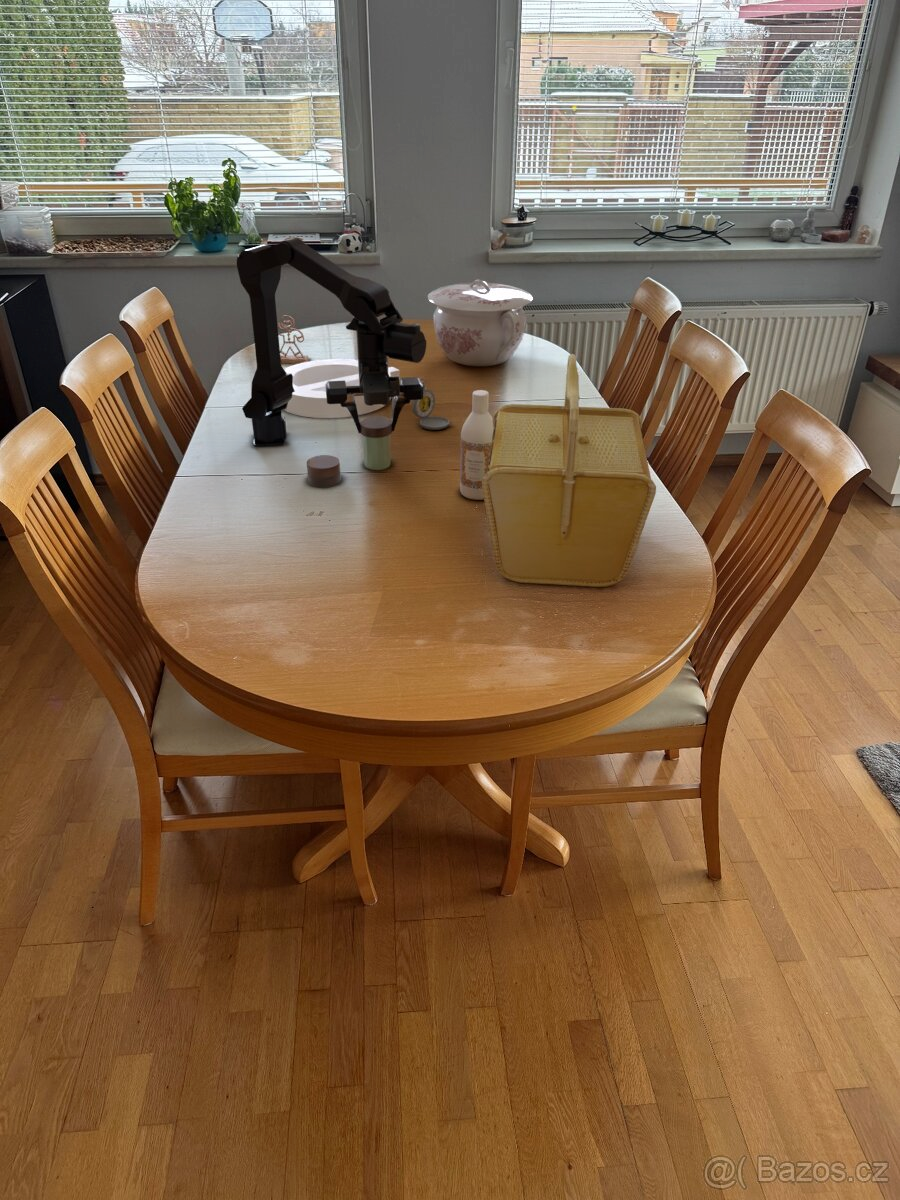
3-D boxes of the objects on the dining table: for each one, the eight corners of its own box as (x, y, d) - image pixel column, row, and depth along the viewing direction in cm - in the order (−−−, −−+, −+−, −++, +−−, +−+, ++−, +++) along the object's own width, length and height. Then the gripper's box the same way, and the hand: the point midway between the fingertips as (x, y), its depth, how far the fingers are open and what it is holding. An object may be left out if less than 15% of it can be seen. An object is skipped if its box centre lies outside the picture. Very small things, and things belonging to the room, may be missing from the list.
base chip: (308, 488, 170) (307, 479, 169) (307, 474, 176) (307, 465, 175) (341, 486, 171) (341, 477, 170) (339, 472, 177) (339, 463, 175)
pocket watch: (446, 432, 194) (446, 388, 189) (409, 429, 196) (408, 386, 190) (453, 419, 201) (453, 376, 196) (417, 416, 202) (416, 373, 197)
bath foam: (455, 498, 167) (456, 396, 156) (465, 483, 173) (467, 384, 162) (490, 503, 165) (494, 401, 155) (500, 487, 171) (504, 388, 160)
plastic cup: (365, 470, 177) (363, 438, 174) (363, 459, 182) (361, 428, 178) (391, 469, 178) (390, 436, 174) (389, 458, 183) (387, 426, 179)
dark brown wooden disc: (361, 438, 173) (360, 429, 172) (359, 426, 178) (358, 417, 177) (393, 437, 174) (393, 427, 173) (390, 425, 179) (390, 415, 178)
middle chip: (307, 479, 169) (306, 469, 168) (307, 465, 175) (306, 456, 174) (341, 477, 170) (340, 467, 169) (339, 463, 175) (338, 454, 174)
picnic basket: (490, 505, 165) (495, 346, 148) (629, 512, 162) (650, 351, 146) (478, 588, 140) (483, 408, 124) (642, 597, 138) (668, 416, 122)
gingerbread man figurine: (309, 359, 237) (305, 314, 230) (305, 363, 234) (301, 318, 227) (276, 358, 238) (272, 313, 231) (273, 362, 234) (268, 317, 228)
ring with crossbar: (402, 381, 222) (402, 362, 220) (375, 421, 199) (374, 401, 197) (296, 374, 226) (295, 356, 224) (258, 413, 203) (255, 393, 201)
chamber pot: (436, 341, 250) (435, 265, 239) (532, 346, 247) (536, 269, 236) (419, 373, 227) (418, 291, 216) (525, 379, 224) (530, 296, 213)
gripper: (325, 370, 160) (331, 450, 168) (426, 365, 162) (427, 444, 171) (322, 351, 169) (328, 428, 177) (419, 347, 171) (420, 423, 180)
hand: (376, 431), depth 176 cm, fingers closed on dark brown wooden disc, 6 cm apart
